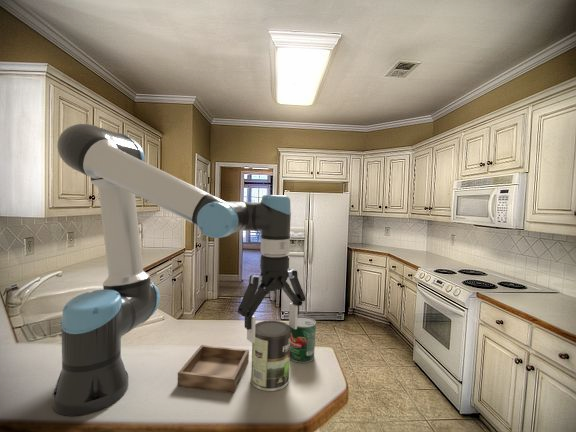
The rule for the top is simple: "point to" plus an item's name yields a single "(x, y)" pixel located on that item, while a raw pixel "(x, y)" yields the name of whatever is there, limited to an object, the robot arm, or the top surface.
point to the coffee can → (271, 355)
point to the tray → (214, 369)
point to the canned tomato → (303, 340)
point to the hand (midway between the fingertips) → (273, 333)
